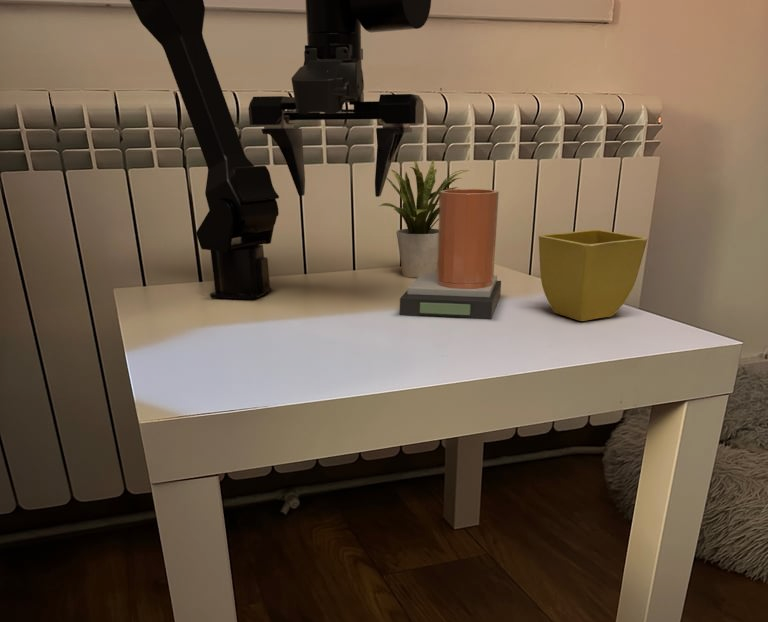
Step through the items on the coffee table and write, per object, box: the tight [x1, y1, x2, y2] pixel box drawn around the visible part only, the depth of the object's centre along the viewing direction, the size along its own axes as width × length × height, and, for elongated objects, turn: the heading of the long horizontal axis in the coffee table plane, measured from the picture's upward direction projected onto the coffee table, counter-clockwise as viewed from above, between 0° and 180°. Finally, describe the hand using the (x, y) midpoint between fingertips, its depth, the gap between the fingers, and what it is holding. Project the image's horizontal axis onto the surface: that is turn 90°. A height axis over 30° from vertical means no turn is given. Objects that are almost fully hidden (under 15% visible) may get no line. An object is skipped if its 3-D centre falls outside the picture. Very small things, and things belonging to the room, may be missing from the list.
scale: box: [399, 273, 502, 320], centre depth 91 cm, size 11×13×3 cm
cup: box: [437, 188, 500, 289], centre depth 88 cm, size 7×7×10 cm
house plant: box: [379, 156, 471, 279], centre depth 106 cm, size 14×14×16 cm
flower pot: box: [538, 229, 648, 322], centre depth 84 cm, size 9×9×9 cm
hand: (339, 196), depth 84 cm, fingers open, 9 cm apart
